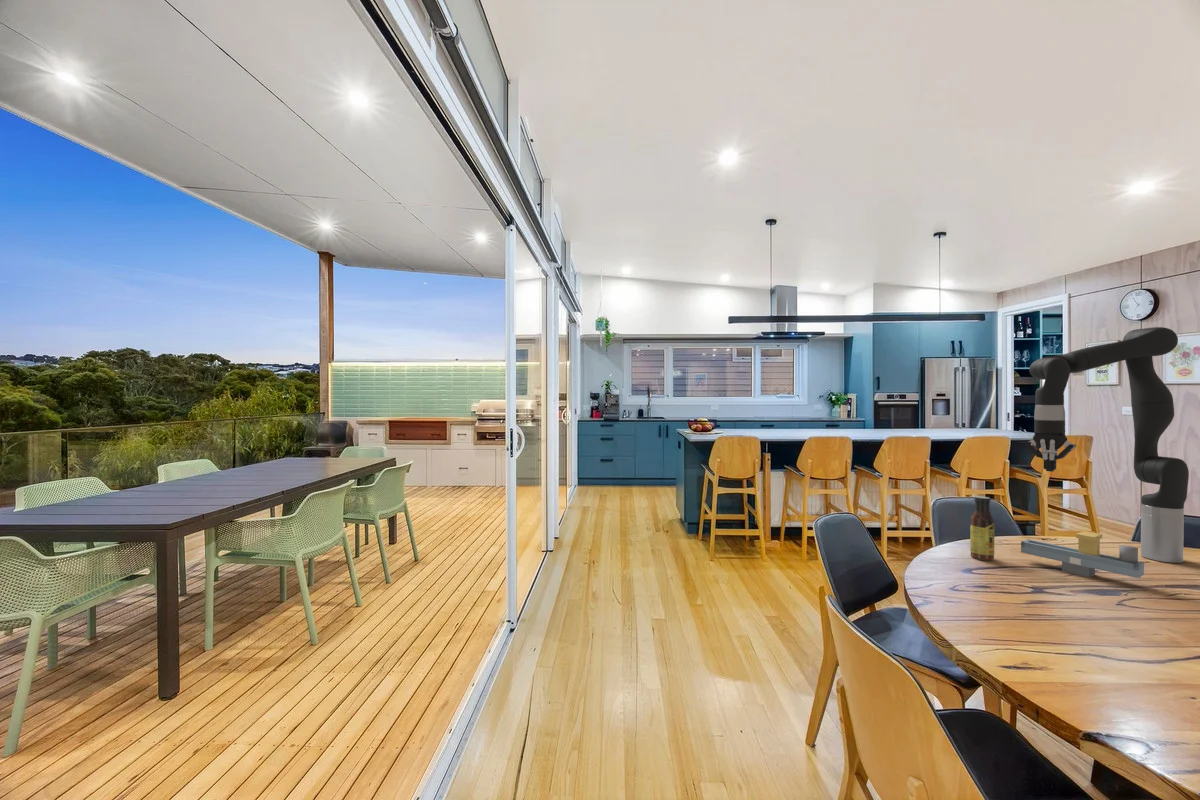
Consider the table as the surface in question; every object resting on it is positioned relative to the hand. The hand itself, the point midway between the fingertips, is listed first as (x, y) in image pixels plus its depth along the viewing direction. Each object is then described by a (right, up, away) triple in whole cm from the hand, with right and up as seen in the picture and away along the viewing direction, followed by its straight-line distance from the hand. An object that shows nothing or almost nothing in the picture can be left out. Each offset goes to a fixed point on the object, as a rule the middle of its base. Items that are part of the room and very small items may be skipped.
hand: (1049, 471), depth 164 cm
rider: (-4, -23, -17) cm, 29 cm away
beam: (-5, -28, -15) cm, 33 cm away
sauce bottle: (-24, -28, -2) cm, 37 cm away
